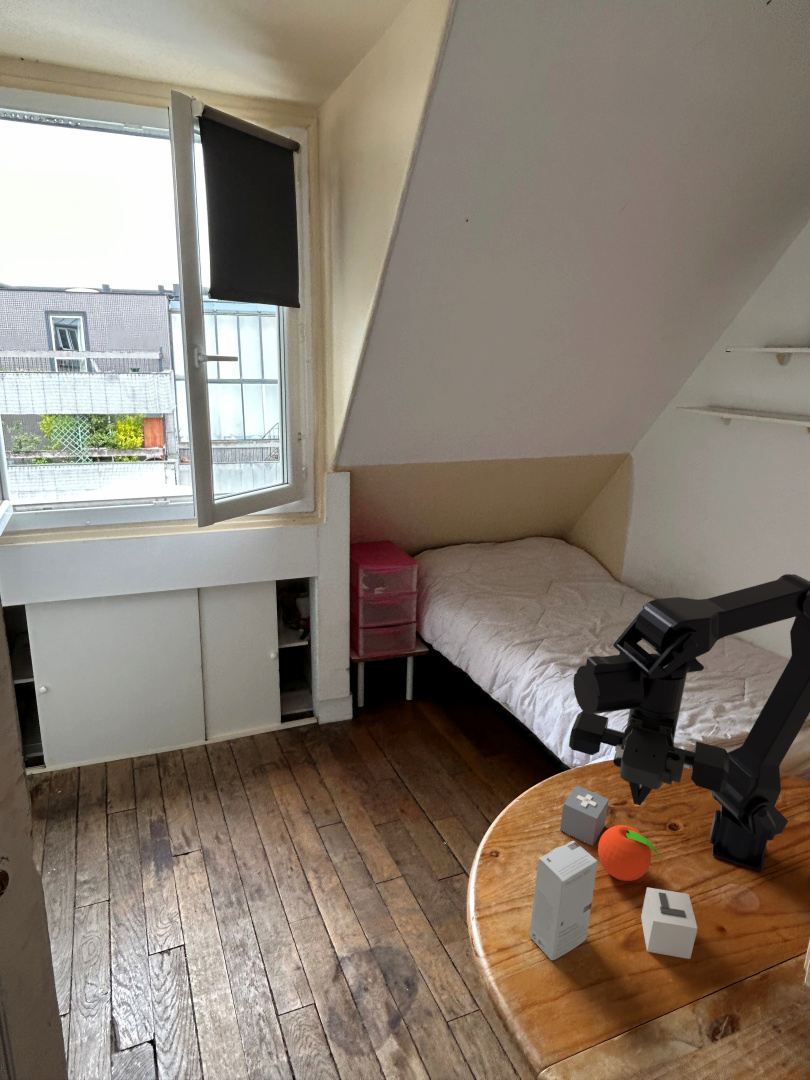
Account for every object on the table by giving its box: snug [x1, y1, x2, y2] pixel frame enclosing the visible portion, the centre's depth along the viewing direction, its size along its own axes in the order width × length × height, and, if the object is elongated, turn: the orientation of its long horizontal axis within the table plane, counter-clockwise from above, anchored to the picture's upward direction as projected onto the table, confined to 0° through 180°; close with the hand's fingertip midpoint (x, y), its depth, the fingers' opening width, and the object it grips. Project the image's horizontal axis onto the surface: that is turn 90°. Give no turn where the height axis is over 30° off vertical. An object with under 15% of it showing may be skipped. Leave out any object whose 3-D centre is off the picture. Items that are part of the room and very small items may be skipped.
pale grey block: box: [640, 887, 698, 960], centre depth 84 cm, size 5×5×5 cm
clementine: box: [597, 824, 661, 882], centre depth 93 cm, size 8×7×7 cm
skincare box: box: [529, 840, 599, 961], centre depth 82 cm, size 6×4×12 cm
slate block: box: [559, 785, 610, 847], centre depth 101 cm, size 5×5×5 cm
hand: (637, 802), depth 90 cm, fingers closed
